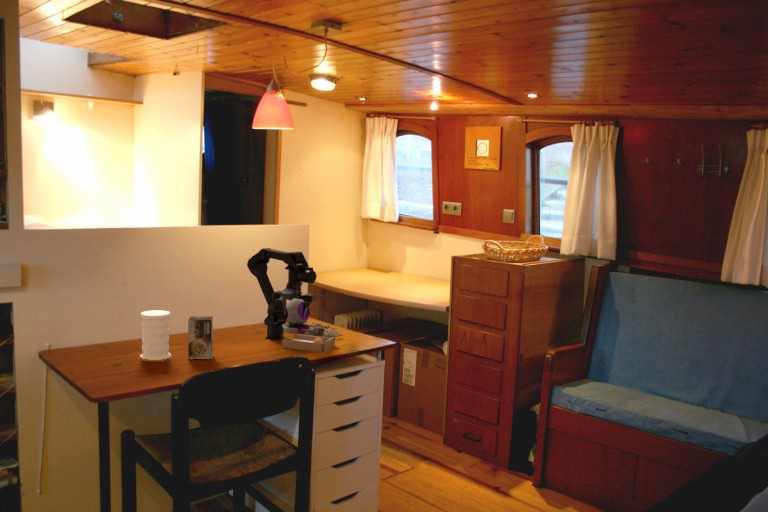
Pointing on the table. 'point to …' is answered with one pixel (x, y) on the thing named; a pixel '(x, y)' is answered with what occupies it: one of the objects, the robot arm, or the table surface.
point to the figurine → (321, 331)
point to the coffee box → (200, 337)
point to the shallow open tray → (308, 343)
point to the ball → (318, 340)
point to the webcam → (296, 316)
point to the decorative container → (155, 335)
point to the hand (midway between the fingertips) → (293, 315)
